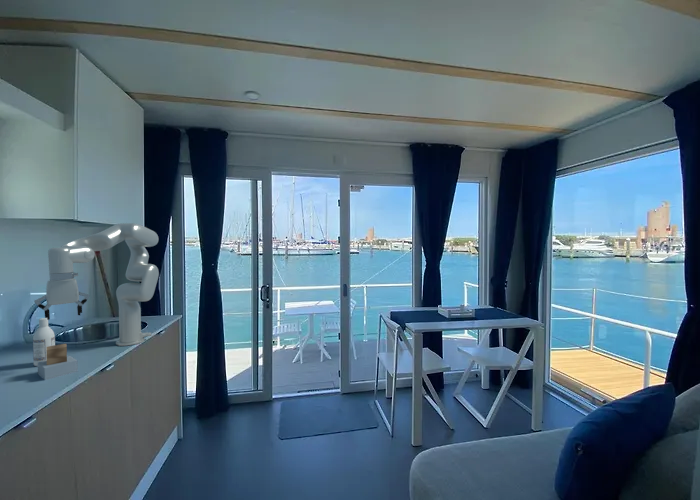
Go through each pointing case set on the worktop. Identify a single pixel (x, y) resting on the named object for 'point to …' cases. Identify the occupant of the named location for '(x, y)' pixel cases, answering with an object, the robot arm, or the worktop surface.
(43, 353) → the bath foam
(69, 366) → the base block
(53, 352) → the walnut cube
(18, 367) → the worktop surface
